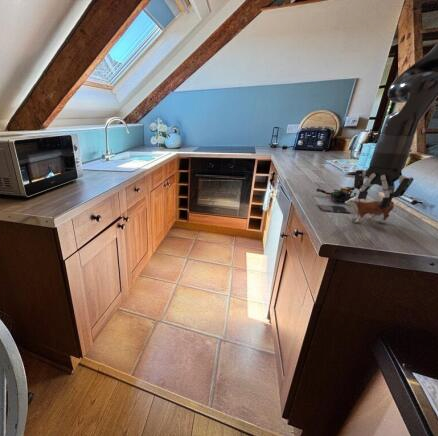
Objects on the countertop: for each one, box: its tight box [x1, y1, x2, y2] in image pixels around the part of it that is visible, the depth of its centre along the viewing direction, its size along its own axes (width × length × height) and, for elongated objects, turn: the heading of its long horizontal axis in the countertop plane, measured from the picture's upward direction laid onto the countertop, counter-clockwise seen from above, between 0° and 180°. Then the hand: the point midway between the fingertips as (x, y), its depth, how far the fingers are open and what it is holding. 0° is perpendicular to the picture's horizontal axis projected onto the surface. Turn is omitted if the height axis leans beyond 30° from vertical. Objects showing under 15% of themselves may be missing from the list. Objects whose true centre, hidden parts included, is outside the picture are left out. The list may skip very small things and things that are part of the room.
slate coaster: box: [318, 204, 350, 214], centre depth 91 cm, size 8×6×1 cm
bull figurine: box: [344, 196, 395, 224], centre depth 78 cm, size 4×13×8 cm, turn 80°
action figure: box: [316, 186, 357, 204], centre depth 100 cm, size 6×15×15 cm
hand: (371, 205), depth 77 cm, fingers closed on bull figurine, 5 cm apart
